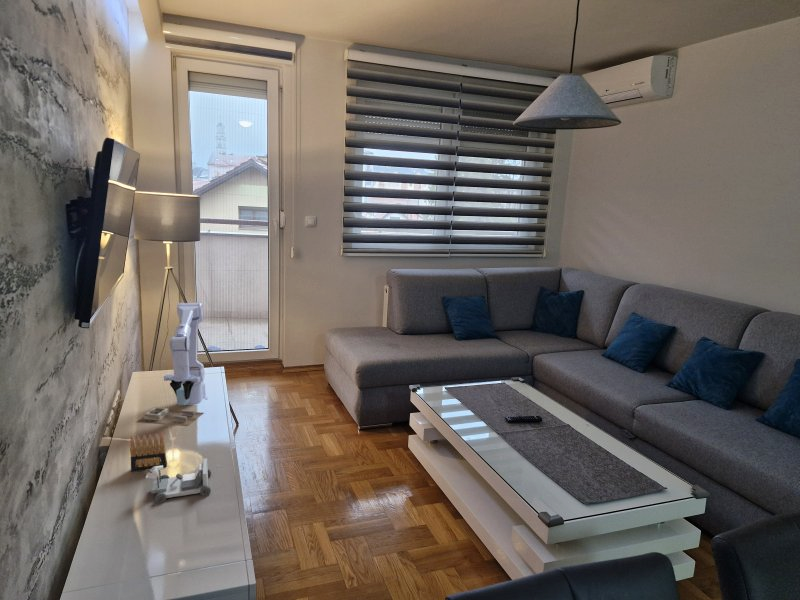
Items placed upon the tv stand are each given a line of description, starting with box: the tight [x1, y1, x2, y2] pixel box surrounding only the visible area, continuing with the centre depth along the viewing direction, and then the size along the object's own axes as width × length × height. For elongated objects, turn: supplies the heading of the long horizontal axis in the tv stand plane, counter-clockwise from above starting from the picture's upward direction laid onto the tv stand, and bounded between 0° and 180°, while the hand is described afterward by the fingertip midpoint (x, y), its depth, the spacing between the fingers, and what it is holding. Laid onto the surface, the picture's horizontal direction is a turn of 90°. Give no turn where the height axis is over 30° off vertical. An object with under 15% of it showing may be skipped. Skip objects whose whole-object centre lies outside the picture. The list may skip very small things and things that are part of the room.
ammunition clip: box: [129, 432, 168, 472], centre depth 170 cm, size 11×2×12 cm, turn 108°
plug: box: [175, 386, 190, 406], centre depth 206 cm, size 4×3×6 cm
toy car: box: [145, 457, 212, 503], centre depth 158 cm, size 18×10×12 cm
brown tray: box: [135, 406, 205, 427], centre depth 209 cm, size 13×22×3 cm, turn 83°
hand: (183, 398), depth 207 cm, fingers closed on plug, 3 cm apart
